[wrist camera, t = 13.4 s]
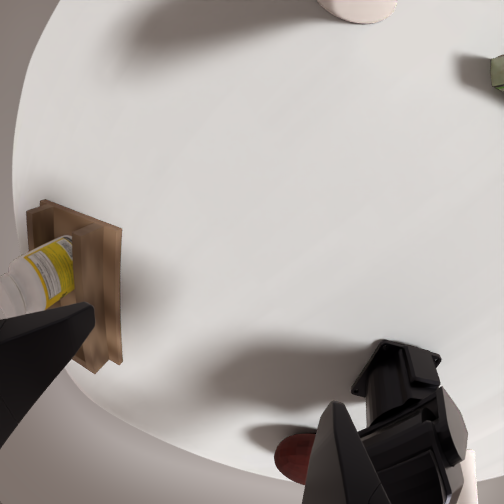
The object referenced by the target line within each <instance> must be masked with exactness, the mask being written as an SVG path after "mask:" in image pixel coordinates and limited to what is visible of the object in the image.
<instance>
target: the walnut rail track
mask: <svg viewBox="0 0 504 504" xmlns="http://www.w3.org/2000/svg"><path fill="white" fill-rule="evenodd" d="M26 216H27V233H28V245H29V251H31V250H33V249H35V248H37V247H39V246H41V245H43V244H45V243H48V242H50V241H52V240H54V239H56V238H58V237H61V236H64V235H69V236H72V257H73V274H74V286H75V289H74V290H73V291H71V292H70V293H68V294H67V295H65V296H64V297H63V298H61V299H60V300H58V301H57V302H55V303H54V304H53V305H51V306H50V307H48V308H47V309H46V310H48V309H53V308H57V307H62V306H66V305H71V304H75V303H80V302H88V303H89V304H91V305H93V306H94V309H95V320H96V324H95V327H94V329H93V330H92V331H91V333H90V334H89V336H88V337H87V338H86V340H85V341H84V343H83V344H82V346H81V347H80V348H79V350H78V351H77V353H76V354H75V355H74V357H73V358H72V359H73V360H74V361H76V362H77V363H79V364H80V365H82V366H83V367H85V368H86V369H88V370H89V371H91V372H92V373H94V374H96V373H97V372H98V371H99V369H100V368H101V367H102V366H103V365H104V364H105V363H106V362H107V361H108V360H111V361H113V362H114V363H116V364H118V365H120V364H121V363H122V362H123V357H122V342H121V321H120V259H121V237H122V228H119V227H116V226H114V225H111V224H108V223H106V222H103V221H100V220H98V219H95V218H93V217H90V216H87V215H85V214H82V213H79V212H77V211H74V210H72V209H69V208H66V207H64V206H61V205H59V204H56V203H54V202H51V201H48V200H46V199H44V200H41V201H40V207H37V208H34V209H31V210H28V211H26Z"/></svg>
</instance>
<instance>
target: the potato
mask: <svg viewBox="0 0 504 504" xmlns="http://www.w3.org/2000/svg"><path fill="white" fill-rule="evenodd" d="M315 436H316V434H309V433H306V434H295V435H292V436H289V437H287V438H285V439H284V440H283V441H282V442H280V444H279V445H278V446H277V449H276V451H275V455H274V460H275V465H276V467H277V468H278V470H279V471H280V472H281V473H282V474H283V475H284V476H286V477H287V478H289V479H290V480H292V481H294V482H296V483H300V484H302V485H305V484H306V478H307V472H308V465H309V460H310V455H311V451H312V447H313V444H314V440H315Z"/></svg>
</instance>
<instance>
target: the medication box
mask: <svg viewBox="0 0 504 504" xmlns="http://www.w3.org/2000/svg"><path fill="white" fill-rule="evenodd" d="M490 74H491V82H492V86H493V87H495V88H497V89H499V90H501V91H502V92H504V55H501V56H498V57H496V58H495V59H494V58H493V59H491V69H490Z"/></svg>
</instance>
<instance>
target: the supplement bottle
mask: <svg viewBox="0 0 504 504" xmlns="http://www.w3.org/2000/svg"><path fill="white" fill-rule="evenodd" d="M74 289H75V286H74V274H73V257H72V236H69V235H64V236H61V237H58V238H56V239H54V240H52V241H50V242H48V243H45V244H43V245H41V246H39V247H37V248H35V249H33V250H31V251H29V252H27V253H25V254H23V255H21V256H20V257H18V258H16V259H15V260H13V261H12V262H11V264H10V266H9V270H8V273H5V274H3V275H1V276H0V309H1V310H2V312H3V313H4V315H5V316H6V317H7V318H11V317H16V316H20V315H25V314H26V311H27V312H28V313H34V312H39V311H43V310H46V309H47V308H48V307H50V306H51V305H53V304H54V303H55V302H57V301H58V300H60V299H61V298H63V297H64V296H65V295H67V294H68V293H70V292H71V291H73V290H74Z"/></svg>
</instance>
